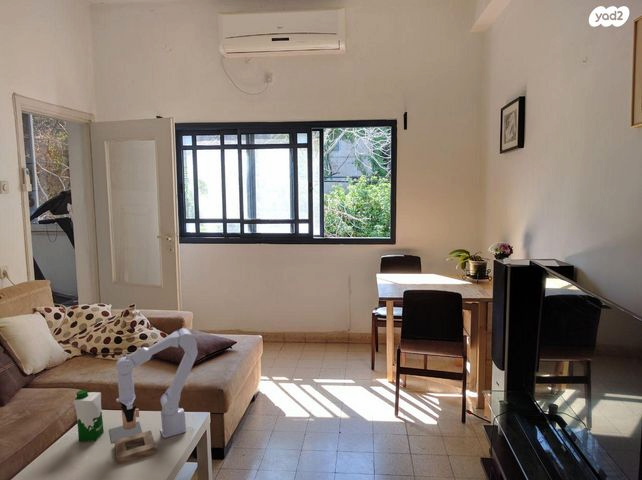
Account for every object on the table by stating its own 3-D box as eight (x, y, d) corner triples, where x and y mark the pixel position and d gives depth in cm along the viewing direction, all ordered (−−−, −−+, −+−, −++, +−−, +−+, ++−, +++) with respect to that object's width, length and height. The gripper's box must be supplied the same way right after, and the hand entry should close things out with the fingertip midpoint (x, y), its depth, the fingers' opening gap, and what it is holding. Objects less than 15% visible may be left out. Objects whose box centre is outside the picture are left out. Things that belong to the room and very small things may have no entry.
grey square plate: (139, 422, 201) (139, 421, 201) (142, 434, 190) (142, 434, 190) (109, 429, 195) (109, 429, 195) (111, 443, 185) (111, 442, 185)
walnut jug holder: (151, 435, 189) (150, 430, 189) (156, 452, 177) (156, 446, 177) (114, 446, 182) (114, 440, 182) (118, 464, 170) (117, 458, 170)
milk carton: (86, 431, 194) (81, 387, 192) (107, 430, 194) (102, 386, 192) (75, 443, 186) (70, 397, 183) (96, 442, 186) (92, 396, 183)
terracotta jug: (139, 421, 188) (137, 403, 187) (140, 426, 184) (138, 407, 183) (122, 425, 185) (121, 407, 184) (123, 431, 181) (122, 412, 180)
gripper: (113, 382, 186) (116, 413, 188) (117, 396, 174) (120, 429, 176) (131, 378, 190) (134, 409, 192) (136, 391, 177) (139, 424, 179)
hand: (129, 418), depth 184 cm, fingers closed on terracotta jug, 5 cm apart
